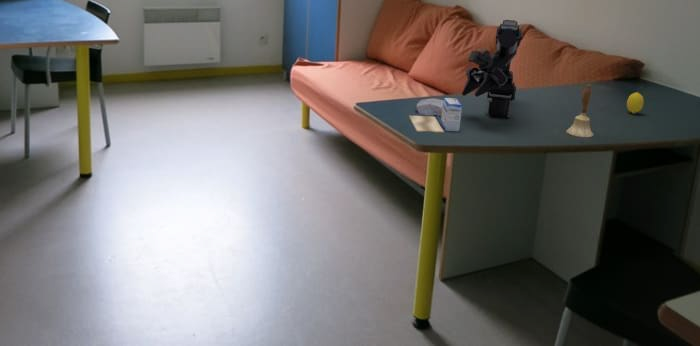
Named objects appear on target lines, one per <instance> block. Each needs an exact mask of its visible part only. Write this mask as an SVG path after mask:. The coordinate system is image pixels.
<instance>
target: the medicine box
mask: <svg viewBox="0 0 700 346" xmlns="http://www.w3.org/2000/svg"><path fill="white" fill-rule="evenodd" d="M443 100H444V101H443V109H442V116H440V117H441V118H440V124H441V125H440V126H441V127H442V128H443V130H444V131H446V132H460V126H461V118H462V111H463V105H462V104H461V102H460V101H459V99H458V98H453V97H444V98H443Z"/></svg>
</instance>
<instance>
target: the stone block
mask: <svg viewBox="0 0 700 346" xmlns="http://www.w3.org/2000/svg"><path fill="white" fill-rule="evenodd" d="M443 101H444V99H438V98H428V99H427V98H425V99H420V100H419V101H418V103H417V104H416V111H418V112H417V113H418V114H420V115H423V114H425V115H424V116H433V115H437V116H436V117H442V109H443Z"/></svg>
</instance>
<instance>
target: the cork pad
mask: <svg viewBox="0 0 700 346" xmlns="http://www.w3.org/2000/svg"><path fill="white" fill-rule="evenodd" d="M408 118H409V120H410V121H411V124H412V125H413V127H414V129H415V131H416V132H418V133H420V132H421V133H442V134H444V133H445V129H444V128H443V126H442V125H440V124H441V123H439V122H438V120H437V119H436V116H432V115H408Z"/></svg>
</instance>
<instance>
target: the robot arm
mask: <svg viewBox="0 0 700 346" xmlns="http://www.w3.org/2000/svg"><path fill="white" fill-rule="evenodd" d="M522 31H523V30H522V28H520V25H519V24H518V21H517V20H512V19H511V20H510V19H504V20H503V21H502V23H500V24H499V26H497V27H496V33H495V43H494V45H496V50H495V51H494V53H492V55H490V51H489V50H487V49H483V50H482V51H480V50H471V52H470V54H469V57H468V62H470V63H471V62H472V63H474V64H475V65H478V66H477V67H468V68H467V69H466V70H465V75H466V77H467V79H466V82H465V85H464V87H463V90H462V92H461V95H462V96H463V97H464V96H466V95H468V94H470V93H472V92H474V91H475V90H476V91H475V93H474V96H475V97H476V98H477V97H480V96H482V95H484V94H486V93H487V96H486V97H487V99H489V100H487V103H486V110H485V111H486V112H485V113H486V115H487V116H489V117H490V118H495V119H496V118H497V119H498V118H499V119H510V116H509V109H510V105H511V104H510V102H512V101H514V100H515V99H516V91H517V86H516V84H515V82H514V72H513V71H512V70H510V69H511V63H512V60H513V59H514V58H515V57H516V55H517V52H518V51H517V48H519V47H520V42H521V41H523V33H524V32H522Z"/></svg>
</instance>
